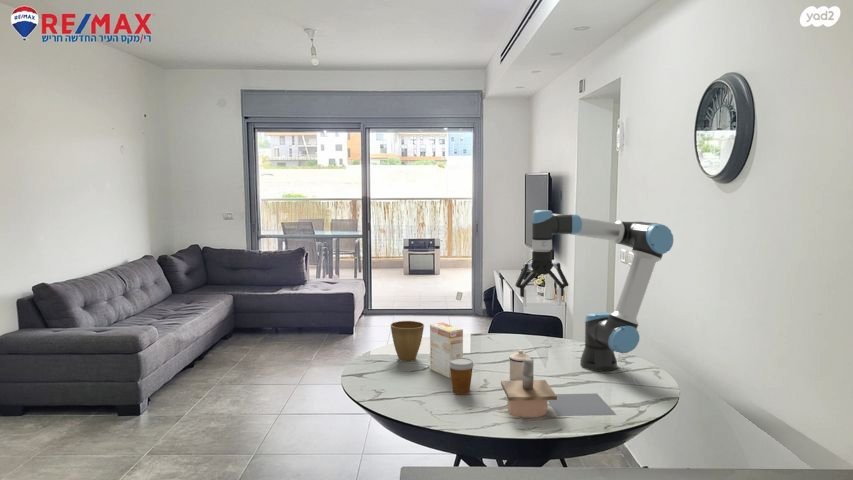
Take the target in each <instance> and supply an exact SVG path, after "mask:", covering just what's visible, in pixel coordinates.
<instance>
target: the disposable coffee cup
mask: <svg viewBox="0 0 853 480" xmlns="http://www.w3.org/2000/svg"><path fill="white" fill-rule="evenodd" d="M474 366H475V364H474V361H473V359H471V358H469V357H463V358H453V359H451V360H450V363H449V367H450V371H451V378H450V379H451V385H452V386H451V388H452V392H453V394H455V395H467V394H470V392H471V391H470V390H471V384H472V376H473V369H474Z"/></svg>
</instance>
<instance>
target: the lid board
mask: <svg viewBox="0 0 853 480" xmlns="http://www.w3.org/2000/svg"><path fill="white" fill-rule="evenodd" d="M534 361H535V360H534V359H533V358H532V359H529V358H526V359H523V380H520V381H513V380H501V381H500V384H501V387H502V390H503V391H504V394H505V396H506V397H507V401H508V400H509V401H522V400H557V396H556V394H557V393H555V391H554V390H553V388H551V387H552V386H550V384H549V383H548V381H547V380H546V379H538V380H537V379H536V380H535V379H534Z"/></svg>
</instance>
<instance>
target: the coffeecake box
mask: <svg viewBox="0 0 853 480" xmlns="http://www.w3.org/2000/svg"><path fill="white" fill-rule="evenodd" d="M429 325H430V326H429V347H430V348H429V359H430V360H429V362H430V363H429V366H430V367H429V370H432V371H433V372H436V373H437V374H440V375H441V376H444V377H445V378H447V379H451V371H450V367H449V363H450V360H451V359H453V358H464V329H462V328H461V327H460V328H459V327H457V326H454V325H451V324H448V323H445V322H438V323H431V324H429Z"/></svg>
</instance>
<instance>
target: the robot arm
mask: <svg viewBox="0 0 853 480" xmlns="http://www.w3.org/2000/svg"><path fill="white" fill-rule="evenodd" d="M531 219H532V221H531V225H532V227H531V228H532V229H531V230H532V231H531V232H532V233H531V234H532V235H531V236H532V239H531V241H532V242H531V250H532V252H531V263H526V262H524V263H523V269H522V271H521V272H520V274H519V276H518V278H517V280H516V282H515V285H514V286H515V287H516V288H519V296H520V298H522V306H524V307H526V306H527V288H526V287H527V286H528V285H529V283H530V282H531V281H532V279H533V278H534V277H536V275H538V276H540V275H545V276H546V275H549V276H550V278H551V279H553V281H554V282H555V283H556V285H558V287H556V291H557V292H556V303H557V305H558V306H561V305H562V297H563V296H564V295H565V294H564V292H565V291H564V289H565V288H566V287H569V285H570V283H569V282H568V280H567V279H566V276H565V275H564V272H563V271H562V268H561V263H560V262H558V261H556V262H553V252H552V250H553V235H572V236H578V237H579V236H580V237H587V238H593V239H599V240H606V241H611V242H612V243H613V244H618V245H621V246H625V247H629V248H632V250H631V252H632V255H633V258H632V261H631V264H630V266H629V270H628V273H627V276H626V279H625V282H624V285H623V287H622V291H621V293H620V296H619V297H618V301H617V304H616V307H615V310H614V311H613V312H603V311H602V312H589V313H587V314H586V315H585V320H584V321H585V322H584V329H585V331H584V349H583V352H582V354H581V357H580V366H581V367H582V368H584V369H587V370H590V371H597V372H611V371H615V370H616V369H617V368H618V361H617V357H616V355H615V353H619V354H628V353H630V352H632V351H633V350H635V349H636V348H637V346H638V344H639V343H640V338H641V337H640V334H639V331H638V327H639V322H638V320H637V318H638V314H639V312H640V309H641V306H642V303H643V301H644V298H645V294H646V292H647V289H648V286H649V283H650V280H651V278H652V276H653V275H652V274H653V272H654V270H655V269H654V268H655V266H656V263H658V262H659V261H661V260H662V258H663V255H664V254H666V253H668V252H670V250H672V247H673V246H674V245H673V244H674V234H673V233H672V230H671V229H670V228H669V226H667V225H665V224H663V223H657V222H647V221H622V220H621V221H620V220H617V221H615V222H612V221H605V220H599V219H591V218H585V217H581V216H580V215H579V214H564V213H553V211H552V210H547V209H542V210H541V209H537V210H534V211H533V212H532V218H531ZM553 267H554V269H556V271H557V274H558V275H559V277H560V279H559V278H558V277H557V276H556V275H555V274H554V272H553V271H552V269H553ZM530 268H531V269H532V270H531V271H530V273H529V274H528V276H526V274H527V273H528V271H529V269H530ZM525 277H526V278H525ZM560 280H561V281H562V282H561V281H560Z"/></svg>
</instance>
